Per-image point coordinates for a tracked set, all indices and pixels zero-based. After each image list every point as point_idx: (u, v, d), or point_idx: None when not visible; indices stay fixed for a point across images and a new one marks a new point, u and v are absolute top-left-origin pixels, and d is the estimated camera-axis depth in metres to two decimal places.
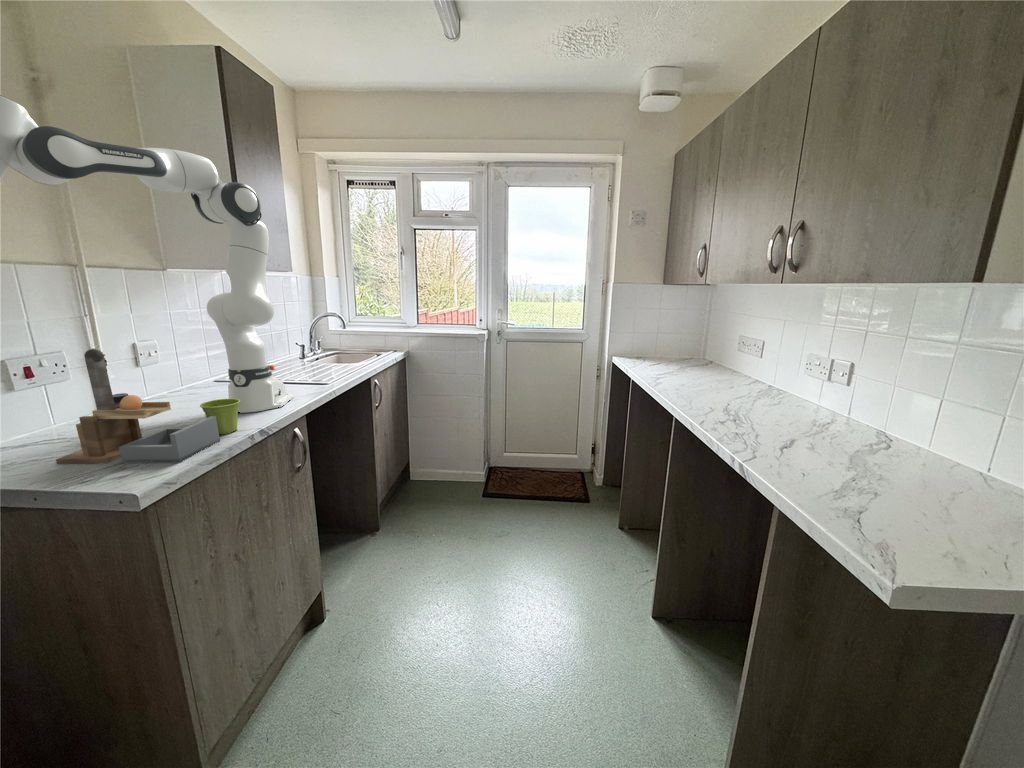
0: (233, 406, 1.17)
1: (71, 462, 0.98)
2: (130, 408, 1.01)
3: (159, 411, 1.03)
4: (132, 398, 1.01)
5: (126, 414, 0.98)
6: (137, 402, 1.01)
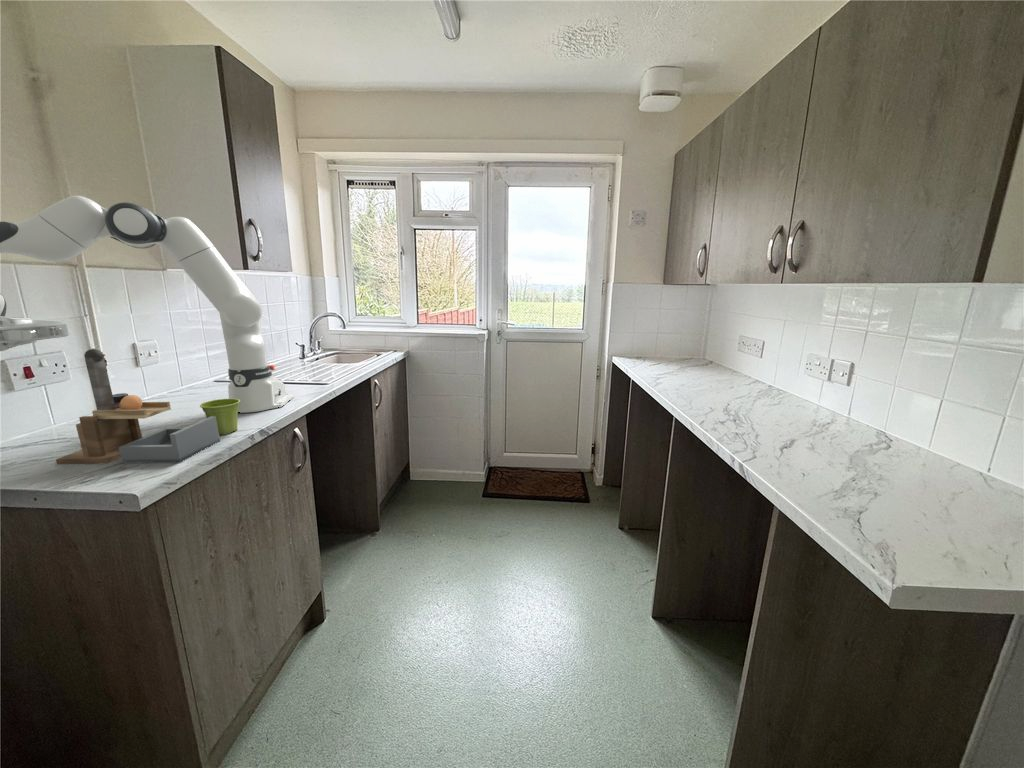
0: (233, 406, 1.17)
1: (71, 462, 0.98)
2: (130, 408, 1.01)
3: (159, 411, 1.03)
4: (132, 398, 1.01)
5: (126, 414, 0.98)
6: (137, 402, 1.01)
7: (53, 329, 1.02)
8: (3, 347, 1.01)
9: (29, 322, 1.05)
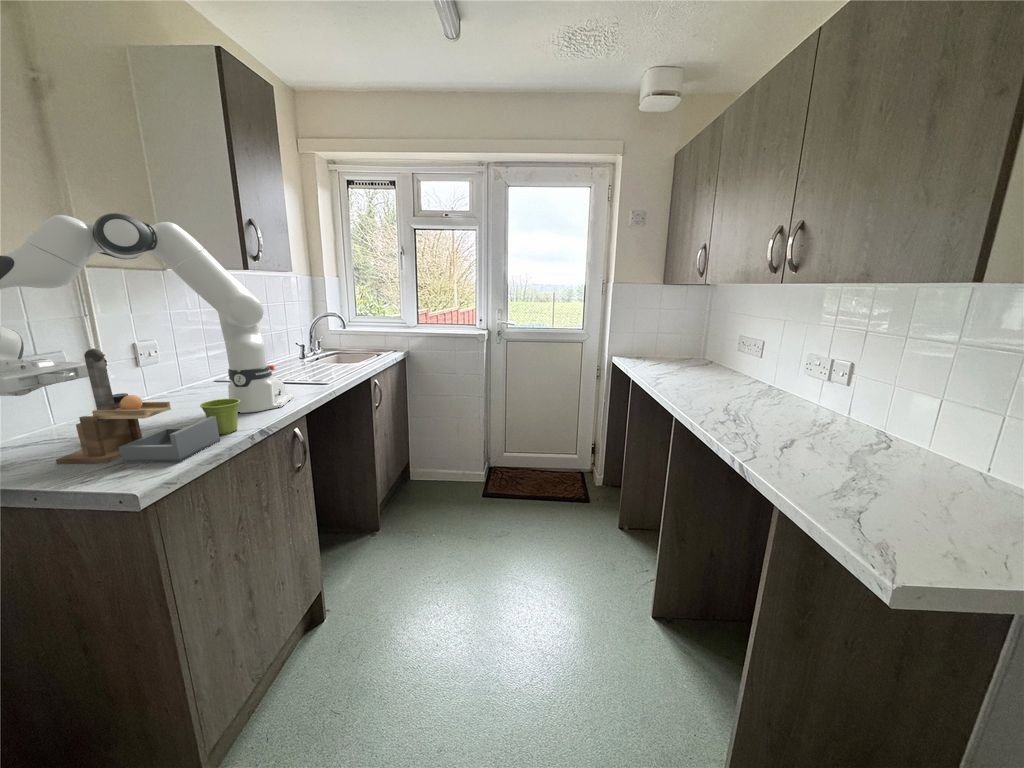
0: (233, 406, 1.17)
1: (71, 462, 0.98)
2: (130, 408, 1.01)
3: (159, 411, 1.03)
4: (132, 398, 1.01)
5: (126, 414, 0.98)
6: (137, 402, 1.01)
7: None
8: (26, 391, 1.01)
9: (51, 364, 1.06)
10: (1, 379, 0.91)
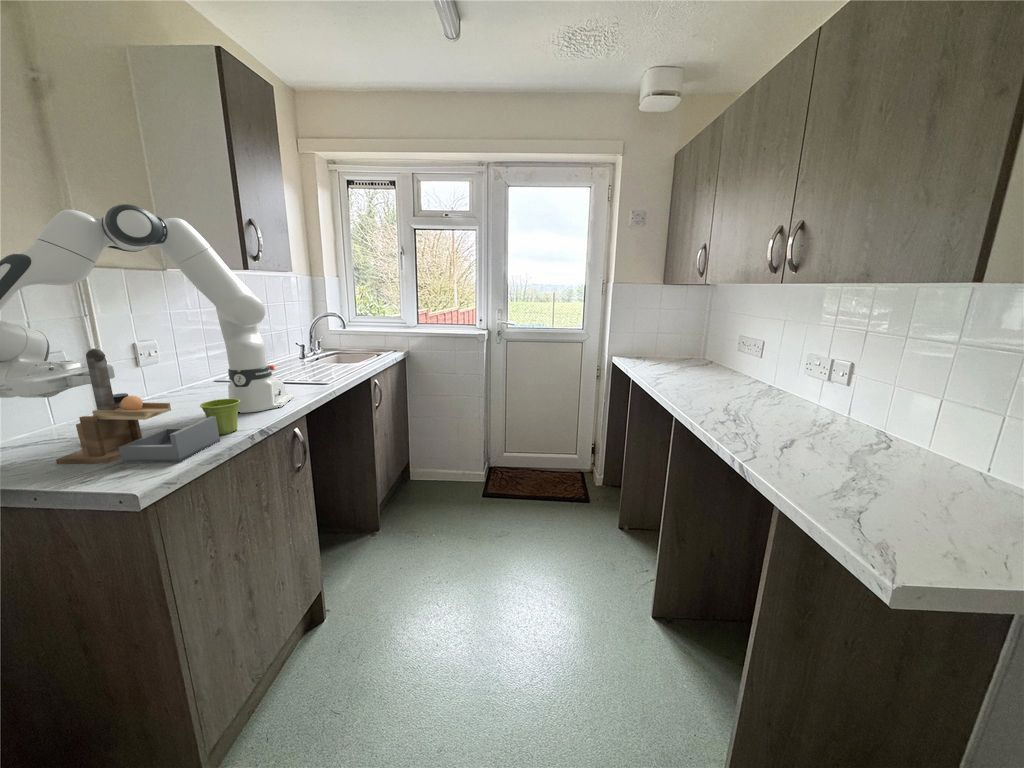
0: (233, 406, 1.17)
1: (71, 462, 0.98)
2: (130, 409, 1.01)
3: (159, 412, 1.03)
4: (132, 399, 1.01)
5: (126, 415, 0.98)
6: (137, 403, 1.01)
7: None
8: (53, 392, 1.02)
9: (77, 366, 1.06)
10: (31, 381, 0.91)
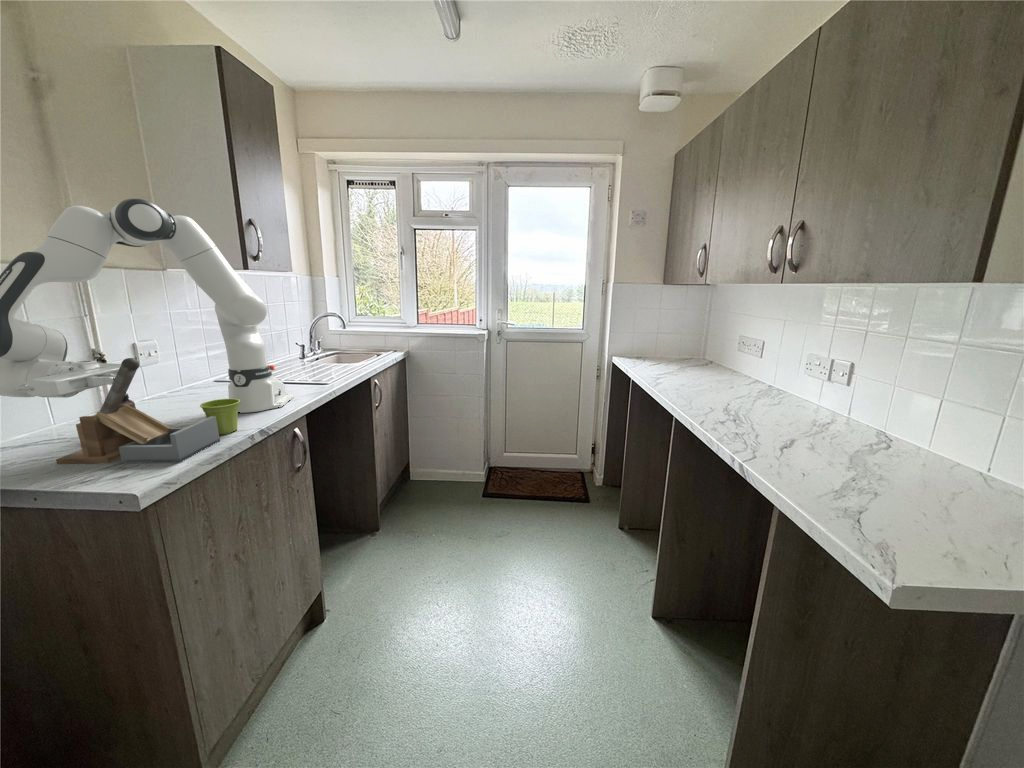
0: (233, 406, 1.17)
1: (71, 462, 0.98)
2: None
3: (157, 437, 1.04)
4: None
5: (127, 432, 0.99)
6: None
7: None
8: (73, 392, 1.02)
9: (96, 366, 1.06)
10: (53, 382, 0.91)
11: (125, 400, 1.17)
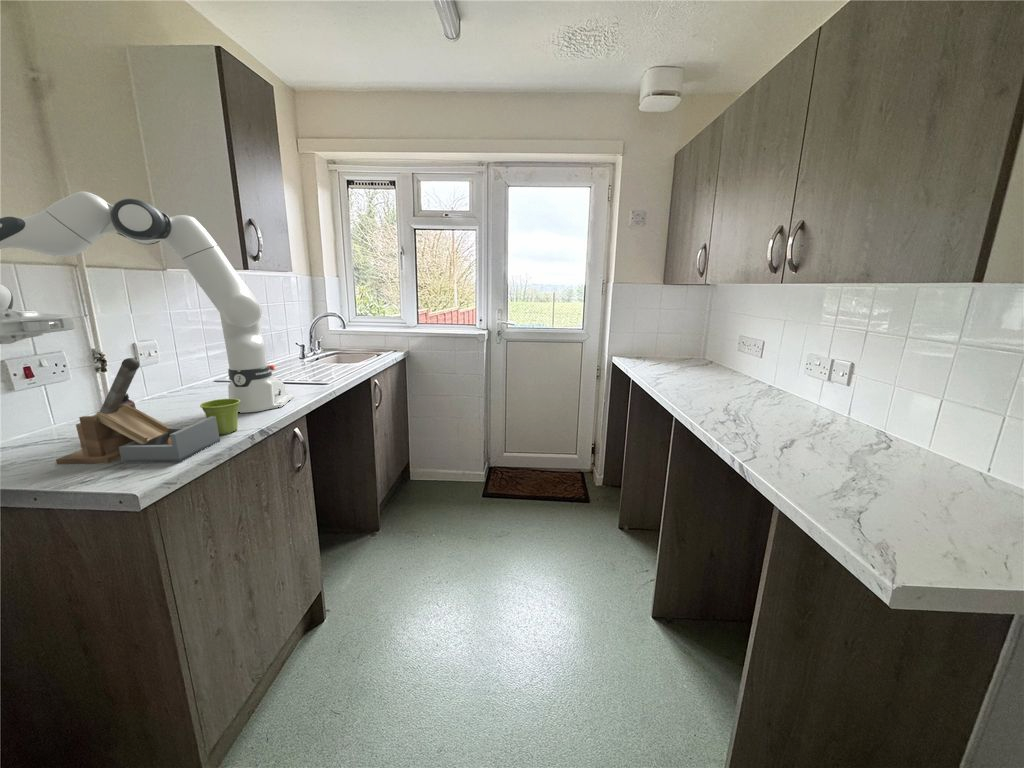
0: (233, 406, 1.17)
1: (71, 462, 0.98)
2: None
3: (157, 437, 1.04)
4: None
5: (127, 432, 0.99)
6: None
7: None
8: (11, 340, 1.02)
9: (36, 315, 1.07)
10: None
11: (125, 400, 1.17)
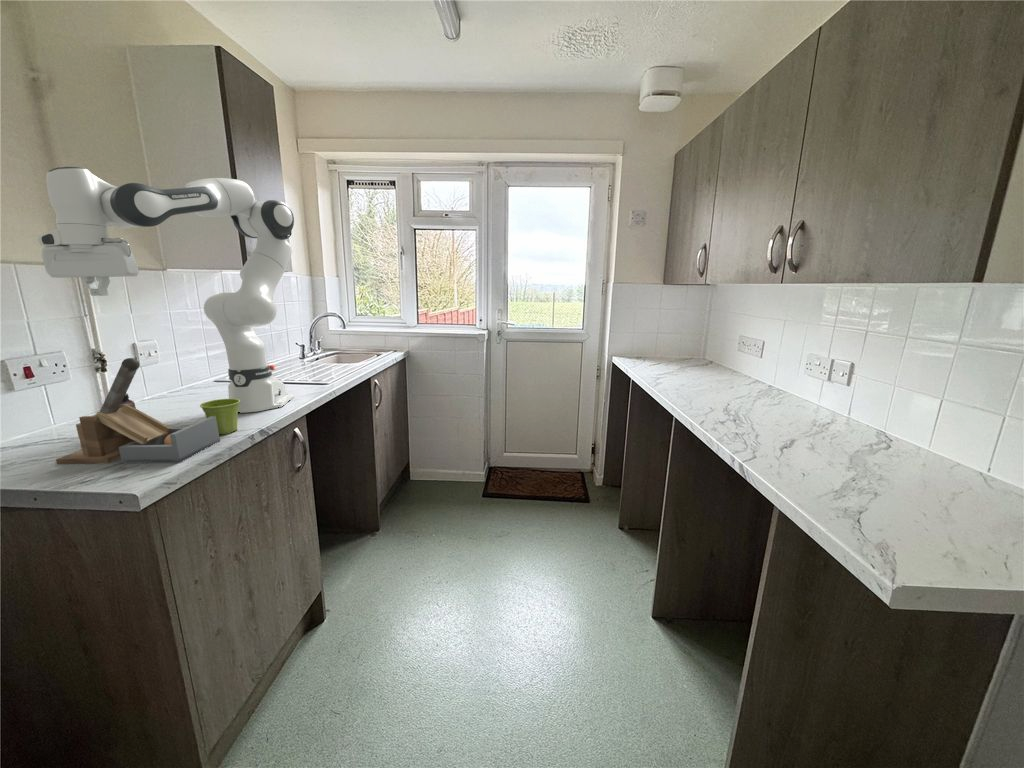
0: (233, 406, 1.17)
1: (71, 462, 0.98)
2: None
3: (157, 437, 1.04)
4: None
5: (127, 432, 0.99)
6: None
7: None
8: (69, 244, 0.99)
9: None
10: (137, 274, 1.06)
11: (125, 400, 1.17)
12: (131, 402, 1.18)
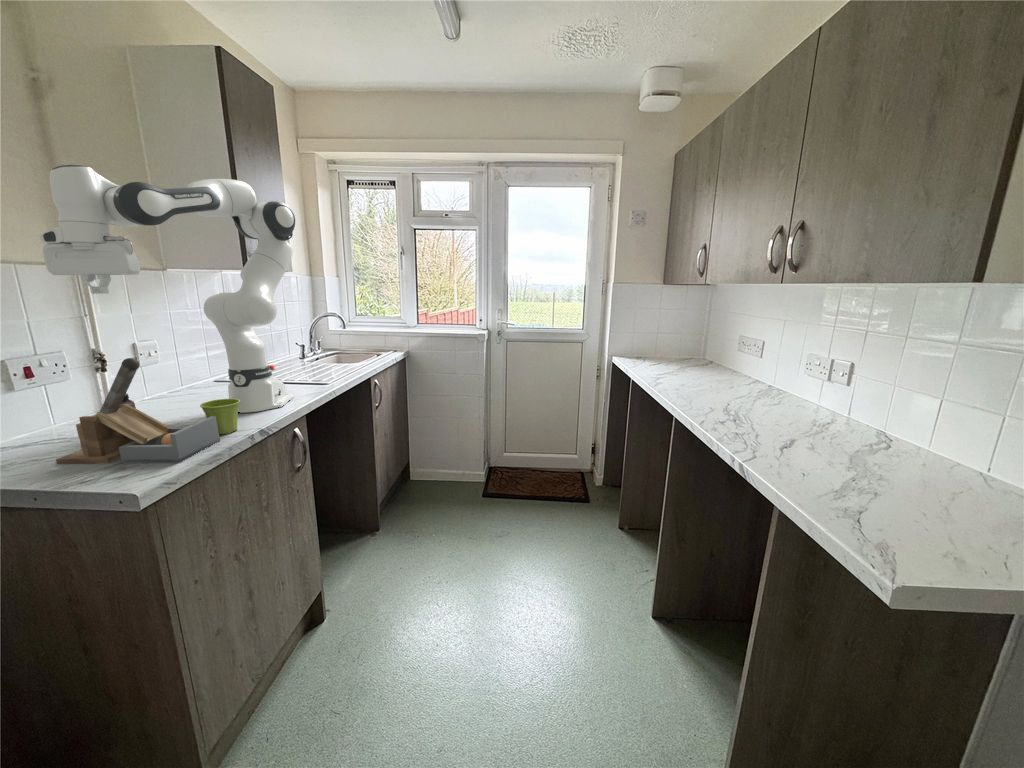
0: (233, 406, 1.17)
1: (71, 462, 0.98)
2: (168, 438, 1.02)
3: (157, 437, 1.04)
4: None
5: (127, 432, 0.99)
6: None
7: None
8: (71, 241, 0.99)
9: None
10: (138, 273, 1.06)
11: (125, 400, 1.17)
12: (131, 402, 1.18)
